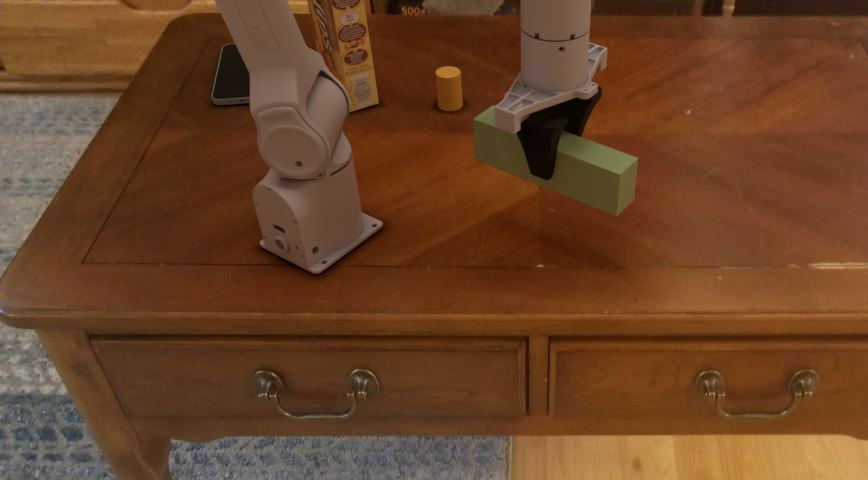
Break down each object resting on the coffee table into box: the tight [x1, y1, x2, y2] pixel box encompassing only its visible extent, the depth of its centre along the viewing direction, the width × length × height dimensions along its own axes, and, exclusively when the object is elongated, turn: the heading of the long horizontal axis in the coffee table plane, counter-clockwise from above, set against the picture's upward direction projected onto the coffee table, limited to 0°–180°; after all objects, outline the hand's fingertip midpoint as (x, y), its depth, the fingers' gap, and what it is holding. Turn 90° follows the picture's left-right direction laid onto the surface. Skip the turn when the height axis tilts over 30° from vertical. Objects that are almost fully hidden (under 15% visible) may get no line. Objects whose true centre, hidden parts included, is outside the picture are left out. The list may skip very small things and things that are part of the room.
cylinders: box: [435, 65, 509, 112], centre depth 100 cm, size 3×13×4 cm, turn 56°
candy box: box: [306, 0, 380, 113], centre depth 100 cm, size 9×4×15 cm, turn 33°
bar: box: [472, 104, 639, 217], centre depth 78 cm, size 16×3×4 cm, turn 56°
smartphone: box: [211, 42, 250, 106], centre depth 108 cm, size 7×1×15 cm
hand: (552, 166), depth 79 cm, fingers closed on bar, 3 cm apart
